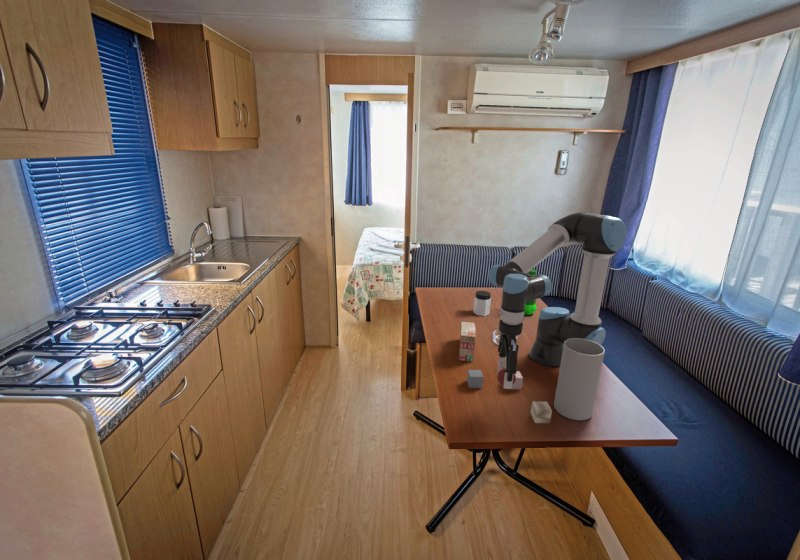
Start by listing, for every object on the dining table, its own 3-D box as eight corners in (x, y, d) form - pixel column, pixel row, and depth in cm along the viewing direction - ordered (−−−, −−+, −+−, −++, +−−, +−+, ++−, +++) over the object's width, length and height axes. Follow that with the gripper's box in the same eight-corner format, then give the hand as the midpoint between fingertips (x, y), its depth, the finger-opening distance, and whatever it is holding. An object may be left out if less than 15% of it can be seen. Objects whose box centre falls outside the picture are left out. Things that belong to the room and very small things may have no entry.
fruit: (511, 385, 143) (509, 362, 145) (518, 386, 138) (516, 362, 139) (495, 386, 142) (492, 363, 144) (501, 387, 137) (498, 363, 138)
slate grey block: (479, 381, 160) (480, 370, 159) (482, 388, 156) (483, 376, 154) (467, 380, 160) (468, 369, 159) (468, 388, 156) (470, 376, 154)
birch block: (544, 414, 141) (546, 401, 140) (549, 423, 137) (552, 410, 135) (530, 413, 141) (532, 401, 140) (534, 423, 137) (536, 410, 135)
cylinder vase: (554, 396, 152) (564, 335, 144) (591, 405, 147) (603, 342, 139) (552, 415, 141) (563, 350, 133) (592, 425, 136) (605, 358, 128)
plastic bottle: (513, 312, 230) (519, 270, 222) (523, 308, 236) (529, 267, 229) (529, 318, 223) (535, 274, 215) (539, 313, 229) (545, 271, 222)
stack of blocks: (460, 339, 196) (461, 315, 192) (473, 340, 195) (475, 316, 191) (458, 360, 176) (460, 334, 172) (473, 362, 175) (475, 336, 171)
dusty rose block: (517, 382, 160) (519, 371, 159) (521, 389, 156) (523, 378, 154) (505, 382, 160) (506, 370, 159) (508, 389, 156) (509, 377, 154)
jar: (491, 315, 224) (493, 295, 221) (477, 316, 223) (479, 296, 219) (484, 309, 233) (486, 290, 229) (471, 310, 231) (473, 290, 227)
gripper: (493, 308, 145) (487, 364, 152) (507, 334, 124) (500, 398, 132) (514, 308, 145) (507, 365, 152) (532, 335, 125) (523, 398, 132)
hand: (504, 380), depth 142 cm, fingers closed on fruit, 8 cm apart
